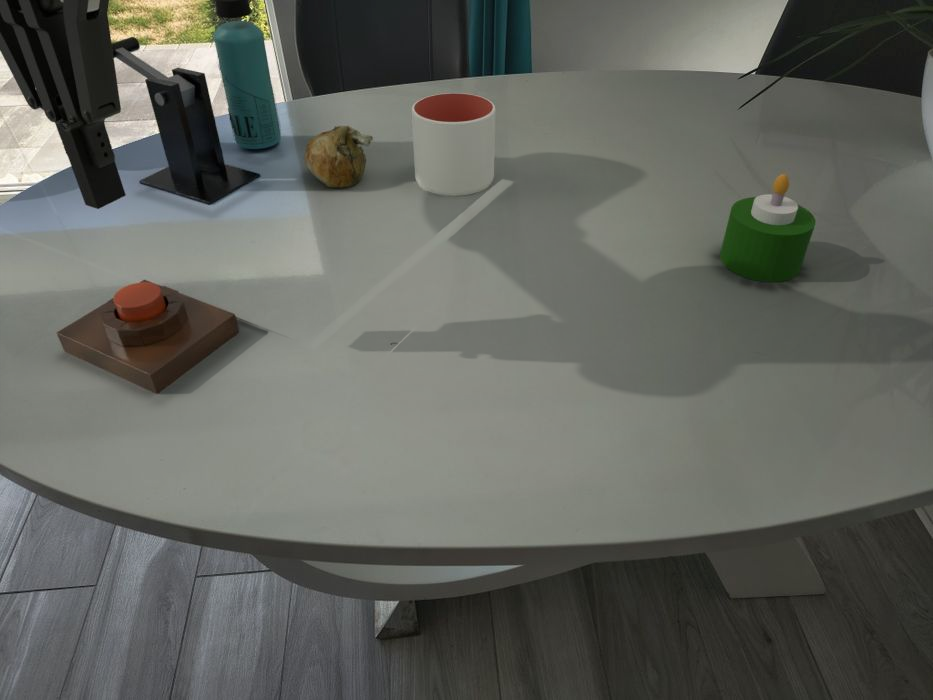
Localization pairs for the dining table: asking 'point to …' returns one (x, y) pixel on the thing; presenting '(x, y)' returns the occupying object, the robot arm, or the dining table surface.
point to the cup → (454, 143)
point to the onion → (337, 156)
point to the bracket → (191, 143)
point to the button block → (150, 339)
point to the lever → (150, 68)
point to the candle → (767, 236)
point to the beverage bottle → (246, 77)
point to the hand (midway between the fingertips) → (105, 199)
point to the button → (139, 302)
